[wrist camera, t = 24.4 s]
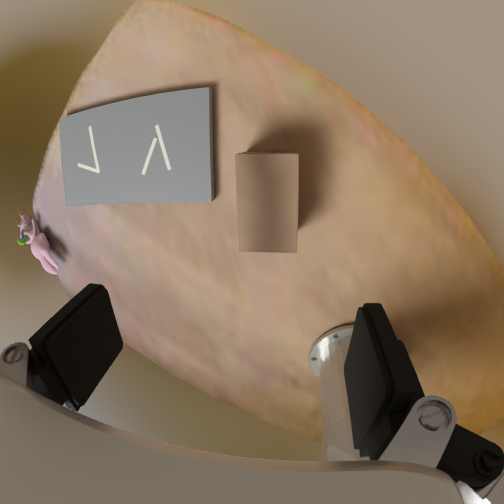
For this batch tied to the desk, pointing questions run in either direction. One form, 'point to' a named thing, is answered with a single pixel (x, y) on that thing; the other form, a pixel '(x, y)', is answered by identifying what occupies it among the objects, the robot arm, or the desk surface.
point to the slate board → (140, 150)
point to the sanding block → (267, 201)
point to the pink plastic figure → (36, 243)
